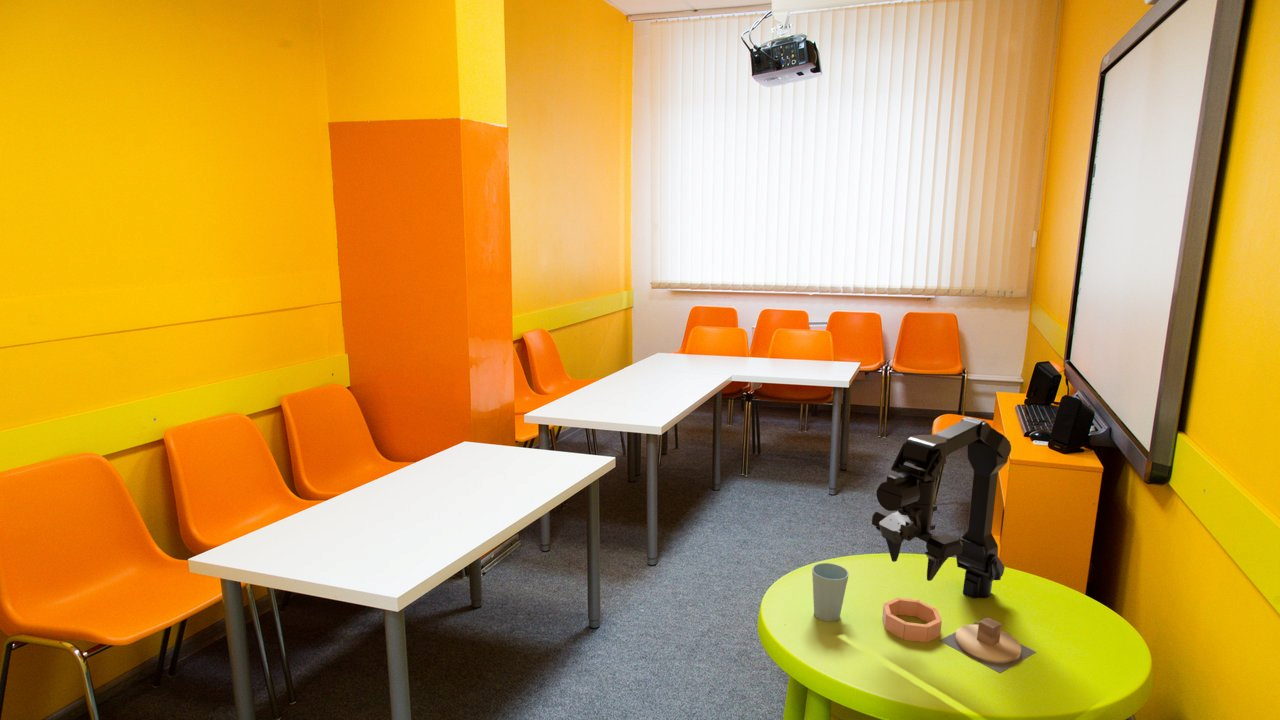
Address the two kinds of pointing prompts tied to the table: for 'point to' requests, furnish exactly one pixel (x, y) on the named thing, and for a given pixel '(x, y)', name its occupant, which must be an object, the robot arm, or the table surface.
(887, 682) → the table surface
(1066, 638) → the table surface
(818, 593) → the cup
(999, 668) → the mat
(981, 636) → the lid
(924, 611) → the ring
